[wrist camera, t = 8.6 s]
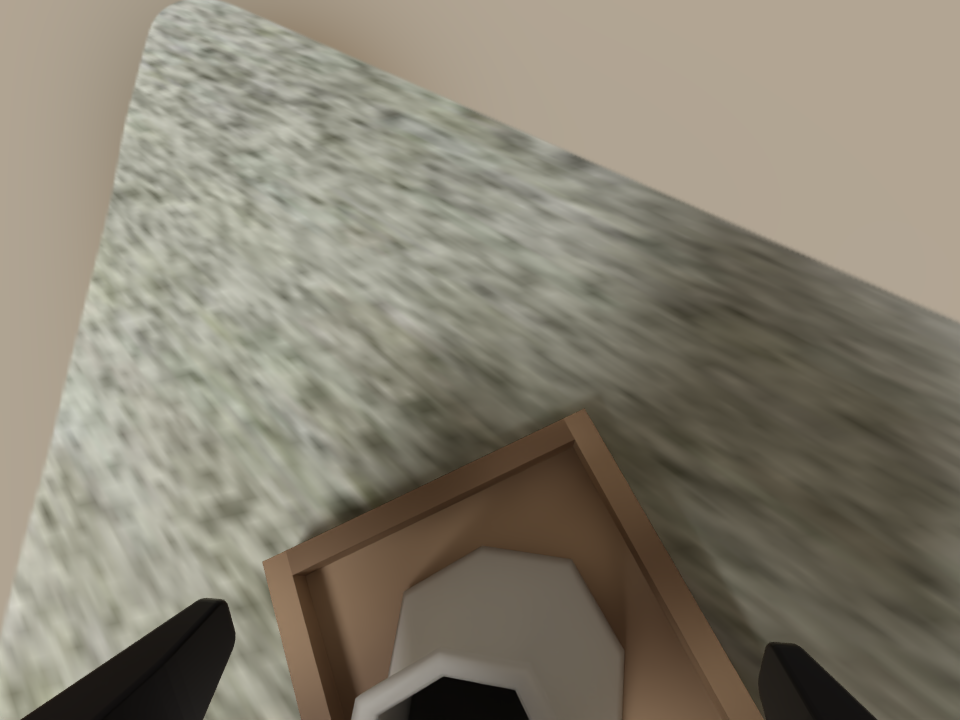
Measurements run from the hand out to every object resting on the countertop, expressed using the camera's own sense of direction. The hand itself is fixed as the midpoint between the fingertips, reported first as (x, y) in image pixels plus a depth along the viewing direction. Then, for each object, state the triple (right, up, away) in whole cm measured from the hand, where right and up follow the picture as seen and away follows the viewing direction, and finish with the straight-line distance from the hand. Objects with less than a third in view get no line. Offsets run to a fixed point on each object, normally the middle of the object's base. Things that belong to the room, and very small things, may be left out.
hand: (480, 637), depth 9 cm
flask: (+1, -5, +7) cm, 9 cm away
